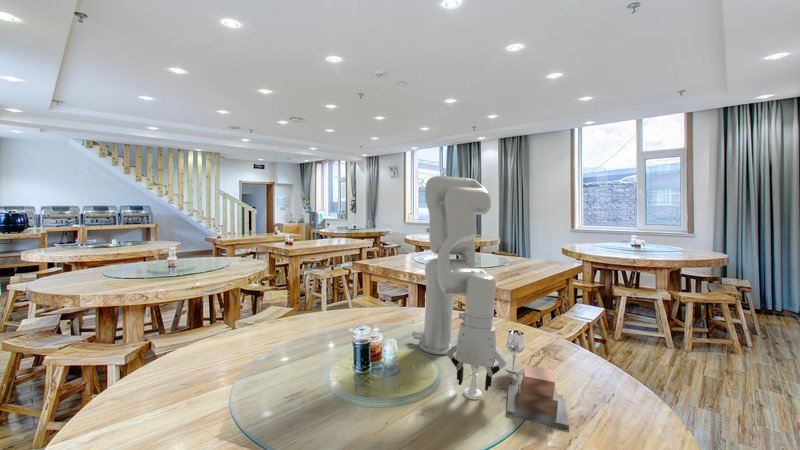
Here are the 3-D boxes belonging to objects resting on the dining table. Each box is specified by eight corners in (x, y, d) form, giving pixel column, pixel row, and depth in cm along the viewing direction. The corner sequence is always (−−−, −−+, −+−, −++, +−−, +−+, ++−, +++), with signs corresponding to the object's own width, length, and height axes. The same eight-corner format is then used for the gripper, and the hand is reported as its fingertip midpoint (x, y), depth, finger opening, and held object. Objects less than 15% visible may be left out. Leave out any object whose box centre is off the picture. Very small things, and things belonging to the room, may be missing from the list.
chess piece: (482, 401, 93) (485, 364, 93) (463, 397, 94) (466, 361, 94) (481, 391, 98) (484, 356, 98) (463, 388, 99) (466, 353, 99)
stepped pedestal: (506, 414, 88) (509, 379, 87) (508, 387, 101) (511, 356, 100) (568, 429, 83) (572, 392, 83) (562, 398, 97) (565, 366, 96)
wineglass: (523, 368, 114) (526, 331, 113) (521, 376, 108) (524, 337, 107) (505, 364, 116) (507, 328, 115) (502, 371, 111) (505, 333, 110)
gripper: (443, 319, 94) (439, 385, 95) (511, 330, 89) (506, 400, 90) (448, 311, 101) (444, 372, 102) (512, 321, 96) (507, 385, 97)
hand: (473, 384), depth 96 cm, fingers open, 6 cm apart
